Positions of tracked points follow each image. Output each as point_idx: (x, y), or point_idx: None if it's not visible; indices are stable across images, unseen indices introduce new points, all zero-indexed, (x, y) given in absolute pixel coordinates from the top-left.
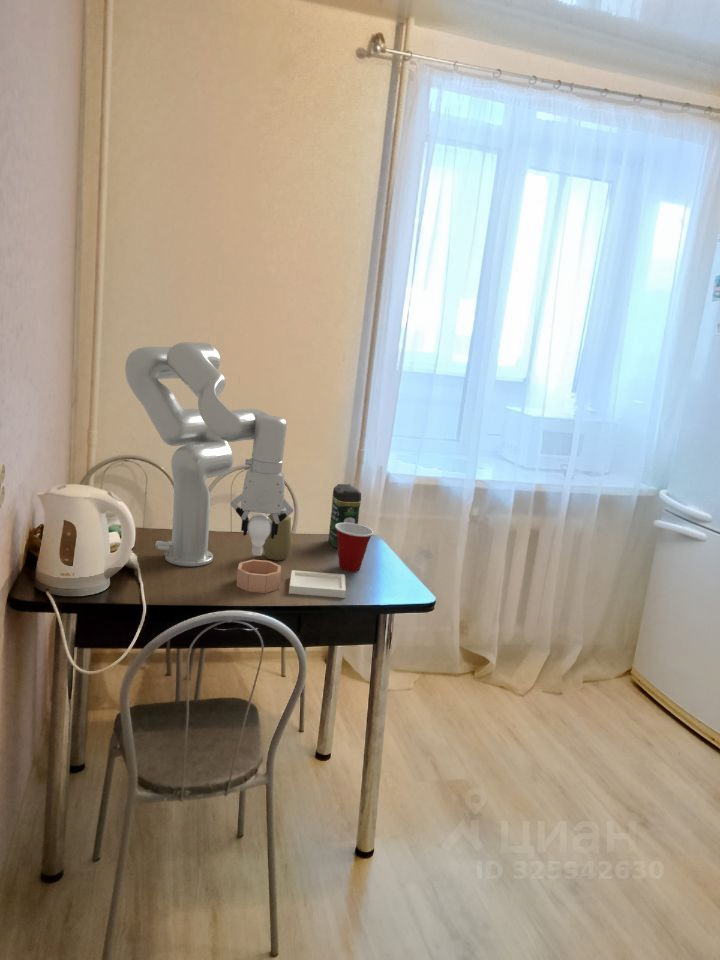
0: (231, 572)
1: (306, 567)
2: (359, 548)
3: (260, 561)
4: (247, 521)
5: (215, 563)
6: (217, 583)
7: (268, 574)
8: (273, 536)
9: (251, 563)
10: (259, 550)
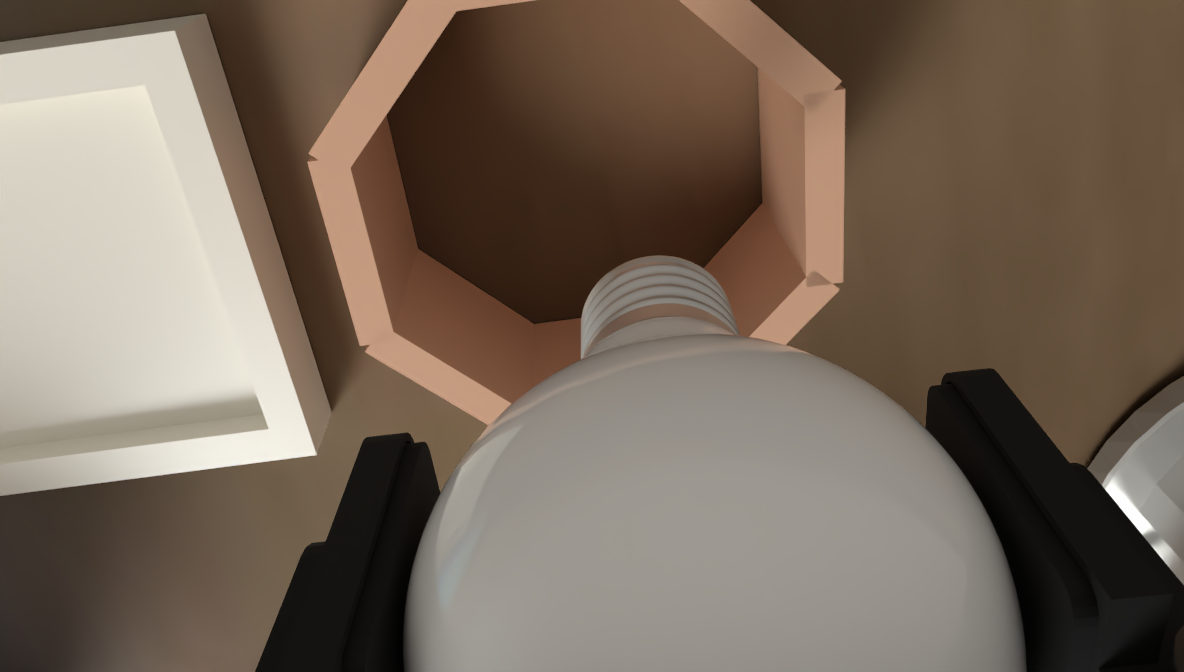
0: (878, 345)
1: None
2: None
3: None
4: (1073, 601)
5: None
6: (989, 34)
7: (418, 21)
8: (364, 460)
9: None
10: (616, 302)
